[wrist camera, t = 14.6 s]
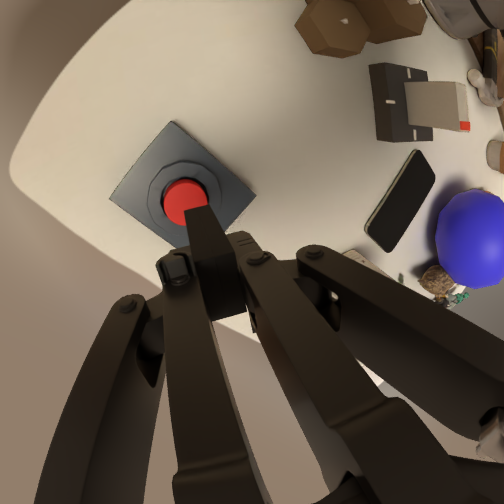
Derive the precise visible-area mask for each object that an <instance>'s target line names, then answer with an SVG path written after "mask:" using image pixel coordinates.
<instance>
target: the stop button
mask: <svg viewBox="0 0 504 504" xmlns="http://www.w3.org/2000/svg"><path fill="white" fill-rule="evenodd" d="M204 205H208V201H207V197H206V194H205V193H204V191H203V189H202V188H201V186H200V185H199V184H198V183H196V182H195V181H192V180H189V179H181V180H177V181H175V182H174V183H172V184H171V185H170V186H169V187H168V188H167V190H166V192H165V195H164V210H165V213H166V215H167V217H168V218H169V219H170V220H171V221H172V222H174V223H175V224H178V225H182V226H186V222H185V216H184V210H188V209H192V208H196V207H200V206H204Z"/></svg>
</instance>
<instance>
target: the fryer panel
mask: <svg viewBox="0 0 504 504" xmlns="http://www.w3.org/2000/svg"><path fill="white" fill-rule="evenodd" d="M369 72H370V78H371V85H372V93H373V101H374V110H375V120H376V132H377V140H380V141H387V142H412V141H433V128H432V127H426V126H418V125H409V123H408V111H407V102H406V93H405V86H404V82H428V76H427V71H423V70H419V69H415V68H410V67H405V66H401V65H396V64H390V63H378V64H372V65H369Z"/></svg>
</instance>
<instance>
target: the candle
mask: <svg viewBox="0 0 504 504" xmlns="http://www.w3.org/2000/svg"><path fill="white" fill-rule="evenodd" d="M305 1H306V2H307V4H308V5H307V7H306V8H305V10H304V11H303V13H302V14H301V16H300V17H299V19H298V21H297V22H296V24H295V25H294V26H295V27H296V29H297V30H298V31H299V33H300V34H301V36H302V37H303V39H304V40H305V42H306V44H307V45H308V47H309V48H310V50H311V51H312V53H313V54H320V55H326V56H332V57H338V58H345V57H349V56H352V55H356V54H360V53H361V51H362V49H363V47H364V45H365V43H366V41H368V42H372V43H375V44H379V43H383V42H388V41H392V40H397V39H402V38H407V37H412V36H418V35H421V34H422V31H423V28H424V25H425V21H426V18H427V15H426V12H425V10H424V8H423V6H422V4H421V3H420V1H419V0H305Z"/></svg>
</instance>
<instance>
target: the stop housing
mask: <svg viewBox="0 0 504 504" xmlns="http://www.w3.org/2000/svg"><path fill="white" fill-rule="evenodd" d="M181 179H189V180H192V181H195V182H196V183H198V184H199V185H200V186H201V188H202V189H203V191H204V193H205V194H206V197H207V201H208V204H210V206H211V208H212V210H213V212H214V214H215V216H216V217H217V219H218V221H219V223H220V225H221V227H222V229H223V230H224V232H225V231H226V230H227V228H228V227H229V226H230V225H231V224H232V223H233V222H234V220H235V219H236V218H237V217H238V216H239V215H240V214H241V213H242V211H243V210H244V209H245V208H246V207H247V206H248V205H249V204H250V203H251V201H252V200H253V199H254V198H255V197H256V196H257V195H256V194H254V193H253V192H252V191H251V190H250V189H249V188H248V187H247V186H246V185H245V184H243V183H242V182H241V181H240V180H239V179H238V178H237V177H236V176H235V175H233V174H232V173H231V172H230V171H229V170H228V169H227V168H226V167H224V166H223V165H222V164H221V163H220V162H219V161H218V160H217V159H215V158H214V157H213V156H212V155H211V154H210V153H209V152H207V151H206V150H205V149H204V148H203V147H202V146H200V145H199V144H198V143H197V142H196V141H195V140H193V139H192V138H191V137H190V136H189V135H187V134H186V133H185V132H184V131H183V130H182V129H180V128H179V127H178V126H177V125H176V124H174V123H173V122H172V121H170V122H169V123H168V124H167V125H166V127H165V128H164V129H163V130H162V131H161V132H160V133H159V135H158V136H157V137H156V138H155V139H154V140H153V142H152V143H151V144H150V145H149V146H148V148H147V149H146V150H145V151H144V152H143V154H142V155H141V156H140V157H139V159H138V160H137V161H136V163H135V164H134V165H133V166H132V168H131V169H130V170H129V172H128V173H127V174H126V176H125V177H124V178H123V180H122V181H121V182H120V184H119V185H118V186H117V188H116V189H115V191H114V192H113V194H112V195H111V196H110V198H109V199H110V200H111V201H113V202H114V203H115V204H117V205H118V206H119V207H121V208H122V209H123V210H125V211H126V212H127V213H129V214H130V215H131V216H133V217H134V218H135V219H137V220H138V221H139V222H141V223H142V224H143V225H145V226H146V227H147V228H149V229H150V230H152V231H153V232H154V233H156V234H157V235H158V236H160V237H161V238H163V239H164V240H165V241H167V242H168V243H170V244H171V245H172V246H174V247H175V248H180V247H184V246H188V245H190V243H189V238H188V233H187V227H186V226H182V225H178V224H175V223H174V222H172V221H171V220H170V219H169V218H168V217H167V215H166V213H165V210H164V195H165V192H166V190H167V188H168V187H169V186H170V185H171V184H172V183H174V182H175V181H177V180H181Z"/></svg>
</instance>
